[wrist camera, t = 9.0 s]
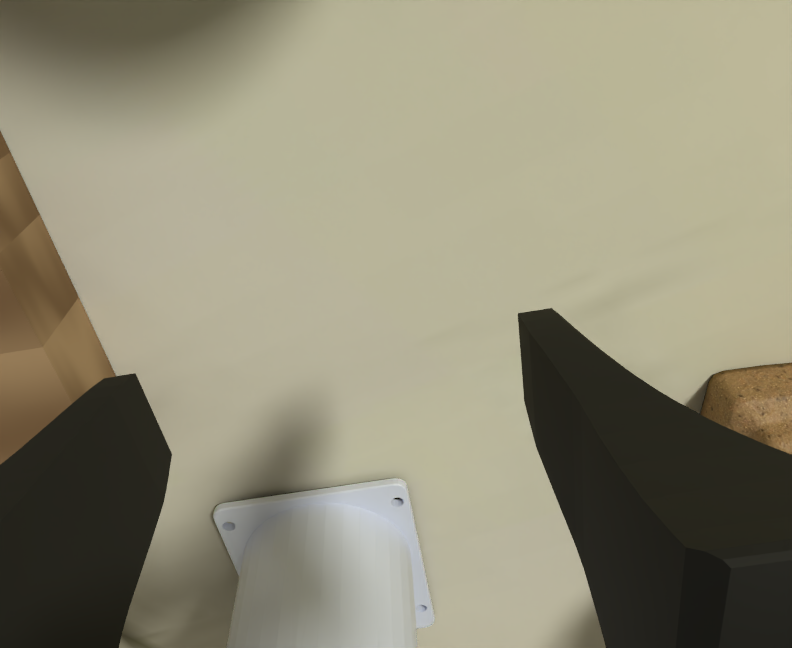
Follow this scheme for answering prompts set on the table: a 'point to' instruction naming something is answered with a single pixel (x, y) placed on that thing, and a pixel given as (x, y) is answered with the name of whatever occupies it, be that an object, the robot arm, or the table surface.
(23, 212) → the brown slotted holder
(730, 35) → the table surface
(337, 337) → the table surface
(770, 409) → the candle holder
